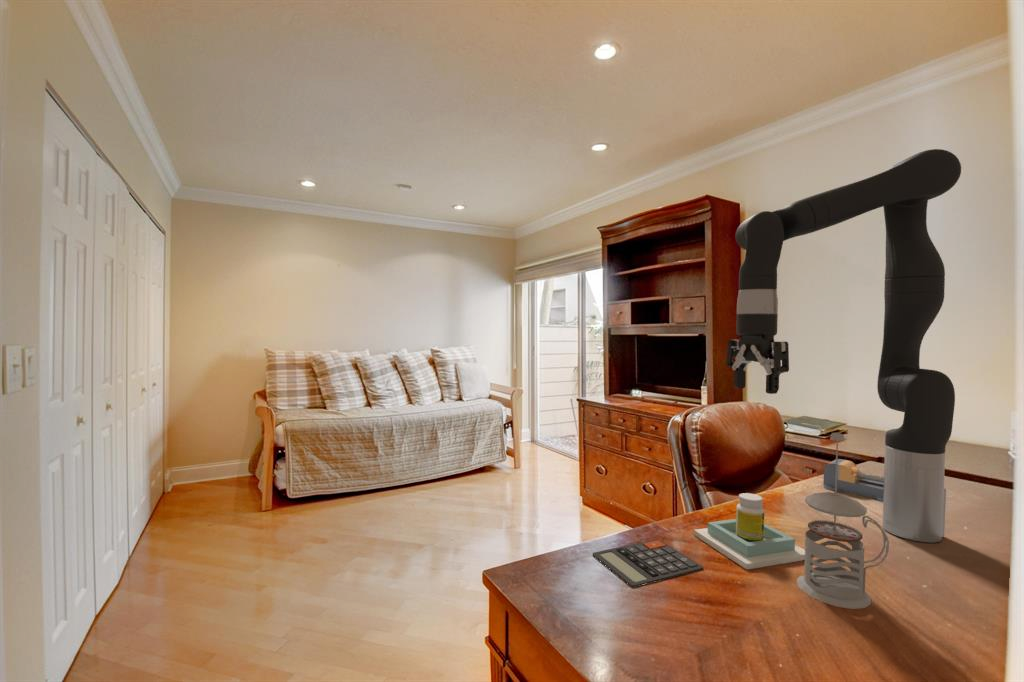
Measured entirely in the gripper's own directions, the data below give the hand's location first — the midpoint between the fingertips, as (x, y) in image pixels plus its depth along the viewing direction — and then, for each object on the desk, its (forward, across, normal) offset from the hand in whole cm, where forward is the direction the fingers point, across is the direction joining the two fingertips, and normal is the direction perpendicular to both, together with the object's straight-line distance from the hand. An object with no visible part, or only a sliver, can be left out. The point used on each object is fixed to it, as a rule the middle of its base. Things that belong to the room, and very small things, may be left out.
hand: (755, 390), depth 99 cm
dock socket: (+28, -8, +8) cm, 30 cm away
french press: (+28, -24, +6) cm, 38 cm away
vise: (+28, +8, -43) cm, 52 cm away
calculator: (+29, -8, +30) cm, 42 cm away
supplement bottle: (+27, -8, +8) cm, 29 cm away
